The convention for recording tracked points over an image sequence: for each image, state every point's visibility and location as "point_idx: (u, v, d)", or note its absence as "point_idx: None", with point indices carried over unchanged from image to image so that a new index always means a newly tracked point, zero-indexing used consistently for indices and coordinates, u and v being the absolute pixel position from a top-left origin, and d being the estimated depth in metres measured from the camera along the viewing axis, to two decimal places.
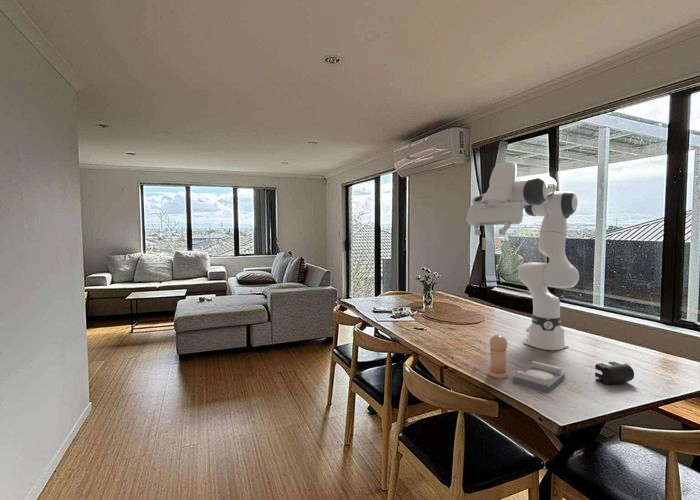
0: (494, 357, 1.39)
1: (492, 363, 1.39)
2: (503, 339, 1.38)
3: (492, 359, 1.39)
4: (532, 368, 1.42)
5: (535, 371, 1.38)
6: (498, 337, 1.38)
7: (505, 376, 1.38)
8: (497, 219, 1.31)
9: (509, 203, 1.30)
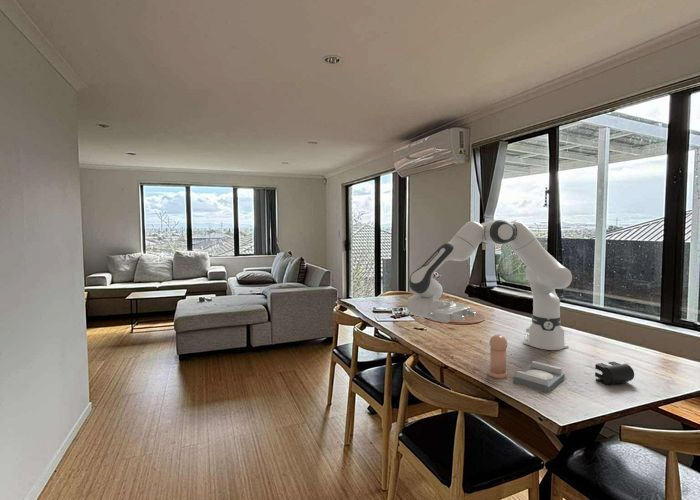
0: (494, 357, 1.39)
1: (492, 363, 1.39)
2: (503, 339, 1.38)
3: (492, 359, 1.39)
4: (532, 368, 1.42)
5: (535, 371, 1.38)
6: (498, 337, 1.38)
7: (505, 376, 1.38)
8: None
9: None
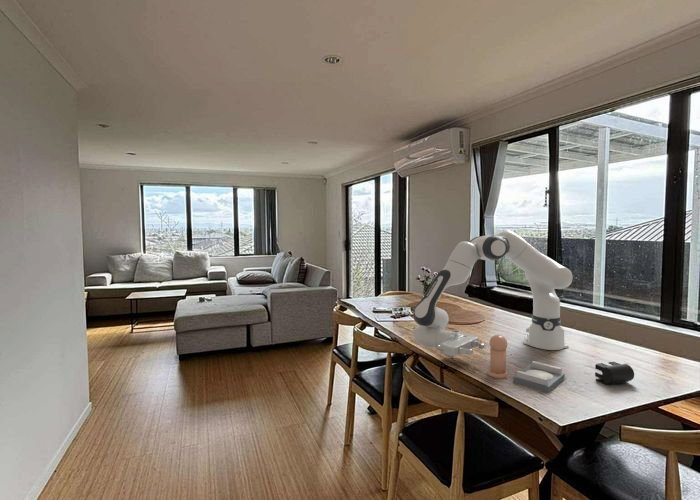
0: (494, 357, 1.39)
1: (492, 363, 1.39)
2: (503, 339, 1.38)
3: (492, 359, 1.39)
4: (532, 368, 1.42)
5: (535, 371, 1.38)
6: (498, 337, 1.38)
7: (505, 376, 1.38)
8: None
9: None
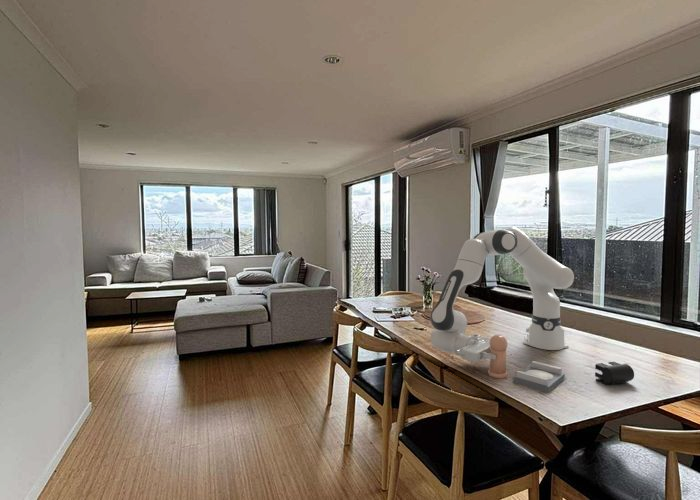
0: None
1: (492, 363, 1.39)
2: (503, 339, 1.38)
3: (492, 359, 1.39)
4: (532, 368, 1.42)
5: (535, 371, 1.38)
6: (498, 337, 1.38)
7: (505, 376, 1.38)
8: None
9: None
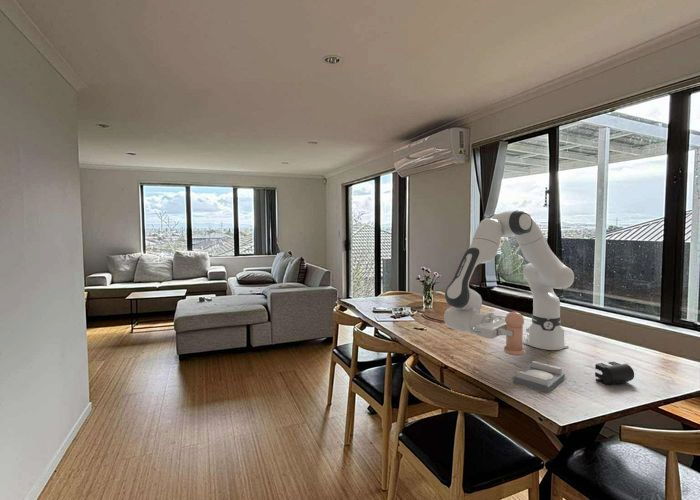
0: None
1: (508, 340, 1.37)
2: (520, 315, 1.35)
3: (508, 336, 1.37)
4: (532, 368, 1.42)
5: (535, 371, 1.38)
6: (514, 313, 1.36)
7: (522, 353, 1.35)
8: None
9: None
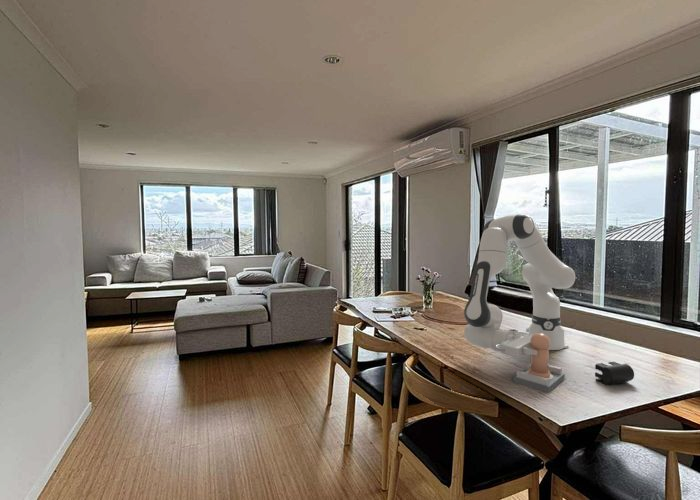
0: (536, 356, 1.33)
1: (534, 362, 1.34)
2: (546, 337, 1.32)
3: (534, 358, 1.34)
4: None
5: None
6: (541, 335, 1.33)
7: (548, 376, 1.32)
8: None
9: None
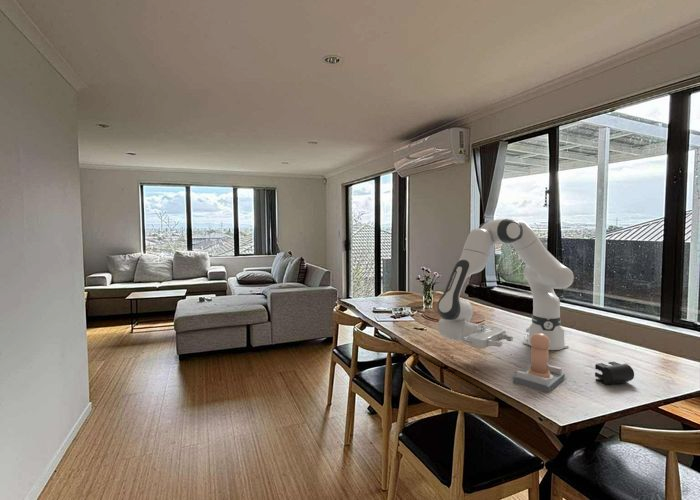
0: (536, 356, 1.33)
1: (533, 362, 1.34)
2: (546, 337, 1.32)
3: (534, 358, 1.34)
4: None
5: None
6: (540, 335, 1.33)
7: (548, 376, 1.32)
8: None
9: None
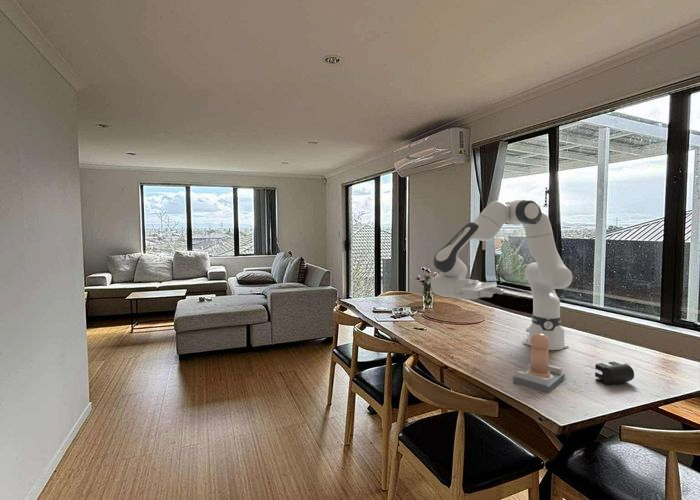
0: (536, 356, 1.33)
1: (533, 362, 1.34)
2: (545, 337, 1.32)
3: (534, 358, 1.34)
4: None
5: None
6: (540, 335, 1.33)
7: (548, 376, 1.32)
8: None
9: None
